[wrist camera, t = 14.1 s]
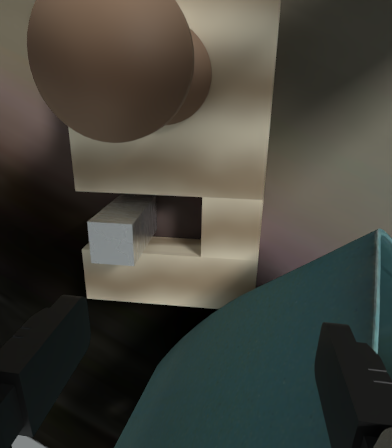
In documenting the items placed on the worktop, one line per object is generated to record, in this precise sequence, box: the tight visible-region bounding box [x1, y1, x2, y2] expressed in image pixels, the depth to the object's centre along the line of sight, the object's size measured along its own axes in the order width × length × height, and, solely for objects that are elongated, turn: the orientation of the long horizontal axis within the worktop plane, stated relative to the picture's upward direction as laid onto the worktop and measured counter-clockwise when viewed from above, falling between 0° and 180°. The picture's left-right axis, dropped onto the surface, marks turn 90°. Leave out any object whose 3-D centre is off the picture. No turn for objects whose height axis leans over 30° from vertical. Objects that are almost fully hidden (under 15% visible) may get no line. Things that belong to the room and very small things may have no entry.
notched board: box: [68, 0, 281, 309], centre depth 29 cm, size 28×16×4 cm, turn 179°
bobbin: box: [27, 0, 212, 143], centre depth 20 cm, size 7×7×12 cm
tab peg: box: [87, 194, 157, 266], centre depth 30 cm, size 4×4×8 cm
